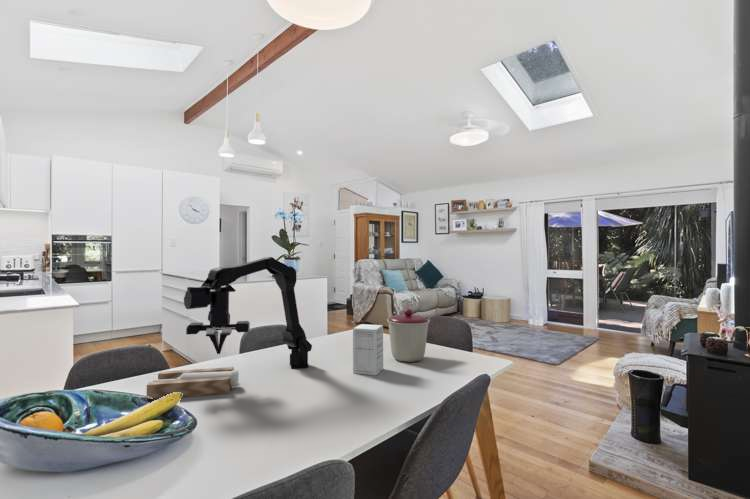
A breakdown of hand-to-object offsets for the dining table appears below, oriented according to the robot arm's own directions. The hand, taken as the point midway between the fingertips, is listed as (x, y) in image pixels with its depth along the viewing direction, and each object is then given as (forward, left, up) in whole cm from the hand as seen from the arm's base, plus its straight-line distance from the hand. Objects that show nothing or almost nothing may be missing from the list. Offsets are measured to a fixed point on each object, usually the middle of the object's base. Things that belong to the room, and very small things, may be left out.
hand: (218, 353), depth 122 cm
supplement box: (-52, -6, -11) cm, 54 cm away
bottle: (-6, +1, -8) cm, 10 cm away
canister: (-72, -18, -11) cm, 75 cm away
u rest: (+8, 0, -11) cm, 13 cm away
